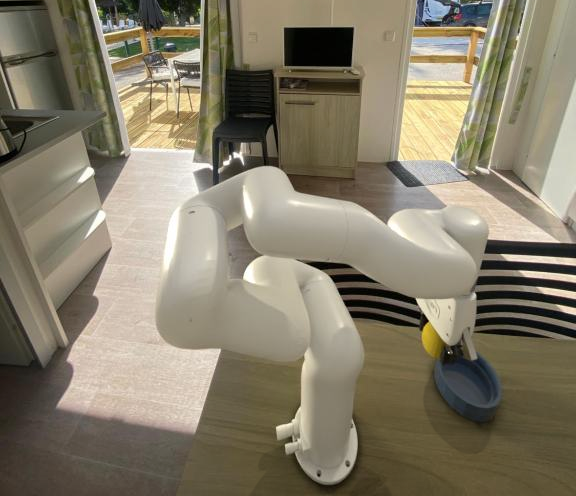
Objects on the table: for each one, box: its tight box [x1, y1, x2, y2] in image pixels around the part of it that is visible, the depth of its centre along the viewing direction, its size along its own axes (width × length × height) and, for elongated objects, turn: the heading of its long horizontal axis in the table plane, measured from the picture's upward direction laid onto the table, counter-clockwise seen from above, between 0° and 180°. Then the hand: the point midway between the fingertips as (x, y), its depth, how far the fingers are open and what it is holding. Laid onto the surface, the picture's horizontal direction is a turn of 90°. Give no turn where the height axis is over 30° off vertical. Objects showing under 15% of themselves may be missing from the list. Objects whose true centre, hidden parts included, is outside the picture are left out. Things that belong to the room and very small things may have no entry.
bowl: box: [433, 350, 503, 423], centre depth 65 cm, size 12×12×5 cm
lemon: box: [421, 321, 446, 360], centre depth 58 cm, size 6×6×8 cm
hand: (436, 343), depth 58 cm, fingers closed on lemon, 5 cm apart
